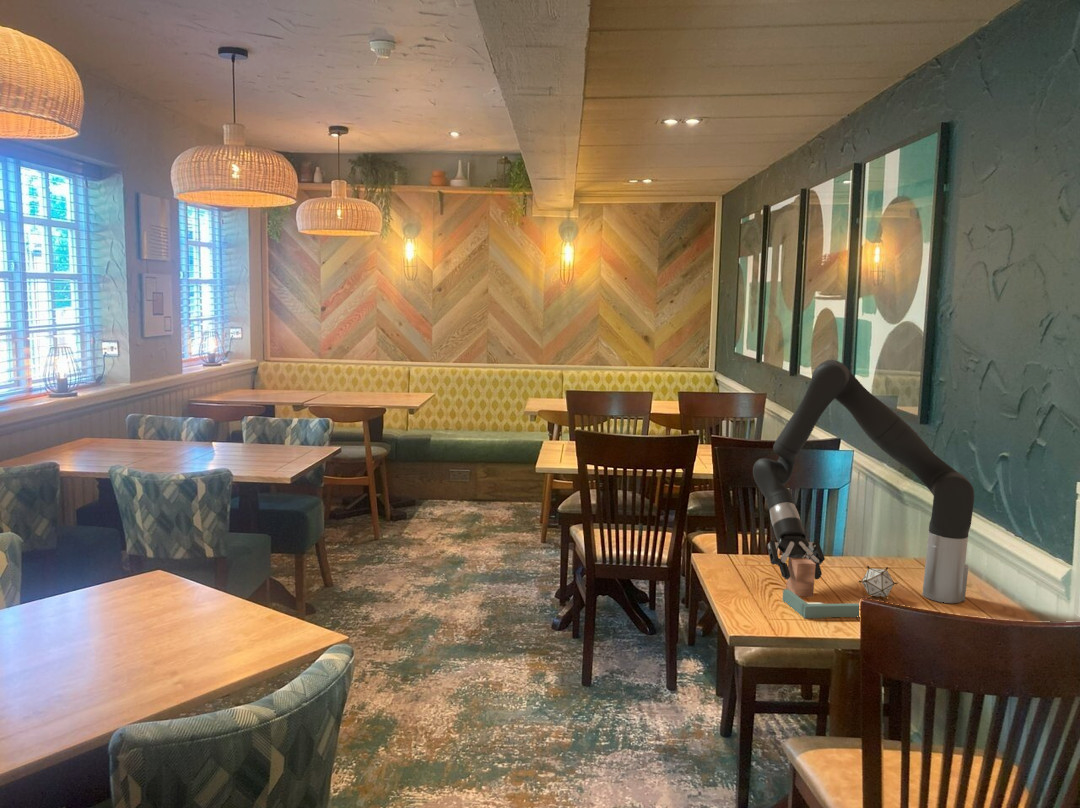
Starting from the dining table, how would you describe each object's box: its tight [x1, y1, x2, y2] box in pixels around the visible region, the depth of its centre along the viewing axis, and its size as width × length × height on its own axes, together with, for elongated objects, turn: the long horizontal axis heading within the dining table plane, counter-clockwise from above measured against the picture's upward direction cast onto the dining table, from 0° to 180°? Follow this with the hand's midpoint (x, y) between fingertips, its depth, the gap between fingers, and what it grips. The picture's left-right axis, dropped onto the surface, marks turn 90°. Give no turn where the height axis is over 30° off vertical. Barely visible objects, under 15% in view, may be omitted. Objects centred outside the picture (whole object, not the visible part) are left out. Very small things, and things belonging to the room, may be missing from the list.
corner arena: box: [782, 588, 860, 619], centre depth 197 cm, size 16×12×3 cm
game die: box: [857, 565, 899, 598], centre depth 207 cm, size 9×8×10 cm
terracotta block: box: [785, 557, 816, 598], centre depth 207 cm, size 5×5×9 cm
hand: (803, 578), depth 205 cm, fingers open, 8 cm apart
